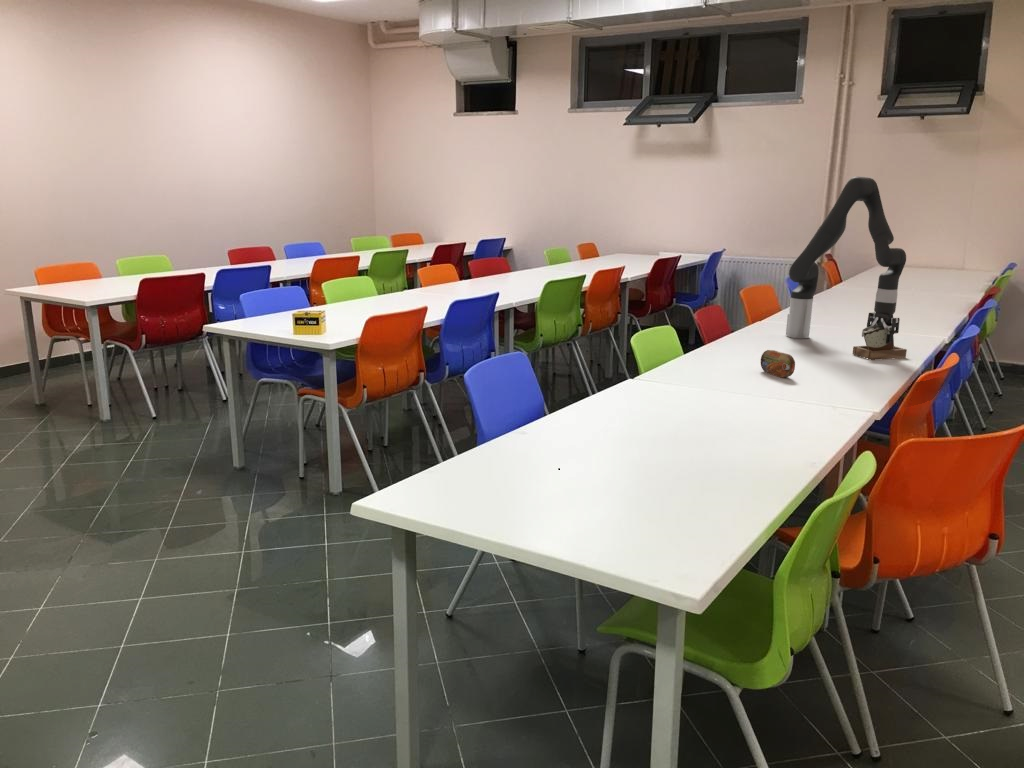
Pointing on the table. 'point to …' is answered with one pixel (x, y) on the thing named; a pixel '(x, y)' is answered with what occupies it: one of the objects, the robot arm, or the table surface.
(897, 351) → the holder
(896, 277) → the robot arm
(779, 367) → the tin
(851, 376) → the table surface
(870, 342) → the food container
